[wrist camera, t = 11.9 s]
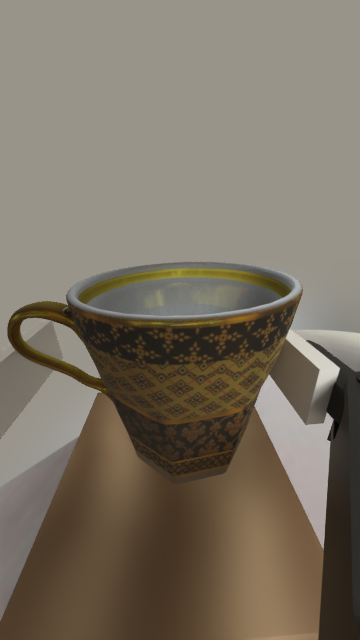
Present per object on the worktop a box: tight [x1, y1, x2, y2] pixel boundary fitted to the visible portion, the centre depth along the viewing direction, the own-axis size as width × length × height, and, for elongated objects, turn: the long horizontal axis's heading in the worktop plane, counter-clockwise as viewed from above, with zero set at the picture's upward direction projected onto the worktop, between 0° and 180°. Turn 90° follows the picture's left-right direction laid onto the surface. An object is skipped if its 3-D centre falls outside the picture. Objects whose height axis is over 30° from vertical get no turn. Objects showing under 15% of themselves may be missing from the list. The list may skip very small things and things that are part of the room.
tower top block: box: [0, 393, 324, 640], centre depth 15 cm, size 14×14×5 cm
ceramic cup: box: [8, 262, 303, 484], centre depth 12 cm, size 13×10×10 cm
